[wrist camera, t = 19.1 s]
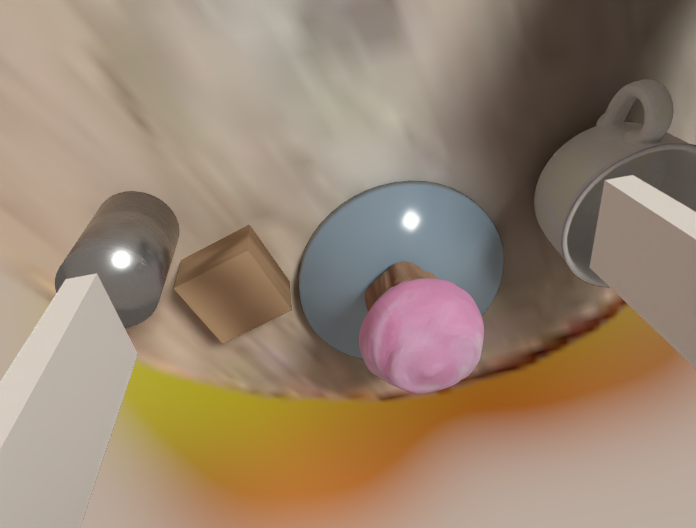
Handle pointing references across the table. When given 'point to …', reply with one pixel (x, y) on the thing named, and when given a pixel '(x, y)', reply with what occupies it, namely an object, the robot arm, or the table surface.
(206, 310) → the walnut block
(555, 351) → the table surface
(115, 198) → the metal tin
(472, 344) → the cupcake
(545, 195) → the teacup
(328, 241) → the plate
